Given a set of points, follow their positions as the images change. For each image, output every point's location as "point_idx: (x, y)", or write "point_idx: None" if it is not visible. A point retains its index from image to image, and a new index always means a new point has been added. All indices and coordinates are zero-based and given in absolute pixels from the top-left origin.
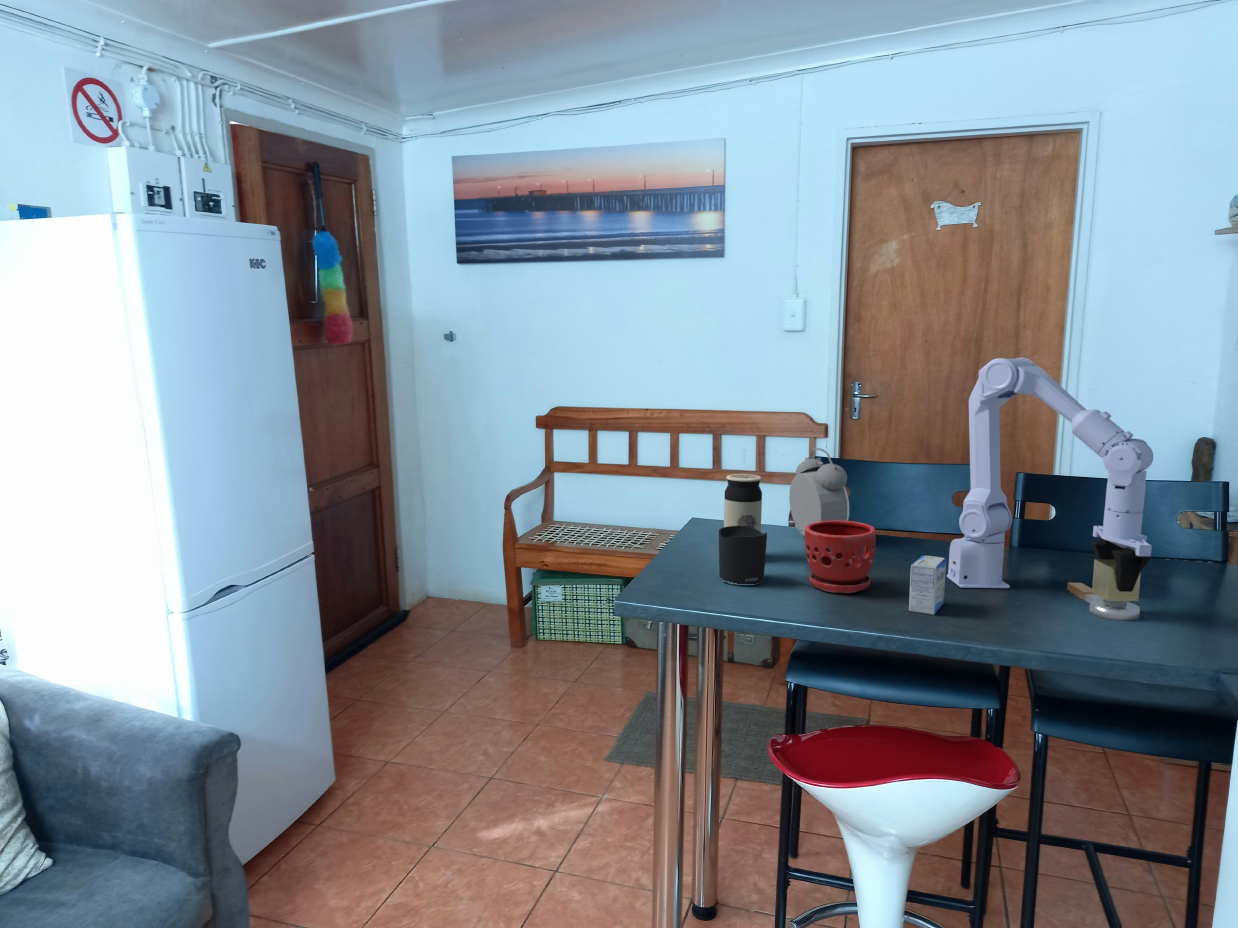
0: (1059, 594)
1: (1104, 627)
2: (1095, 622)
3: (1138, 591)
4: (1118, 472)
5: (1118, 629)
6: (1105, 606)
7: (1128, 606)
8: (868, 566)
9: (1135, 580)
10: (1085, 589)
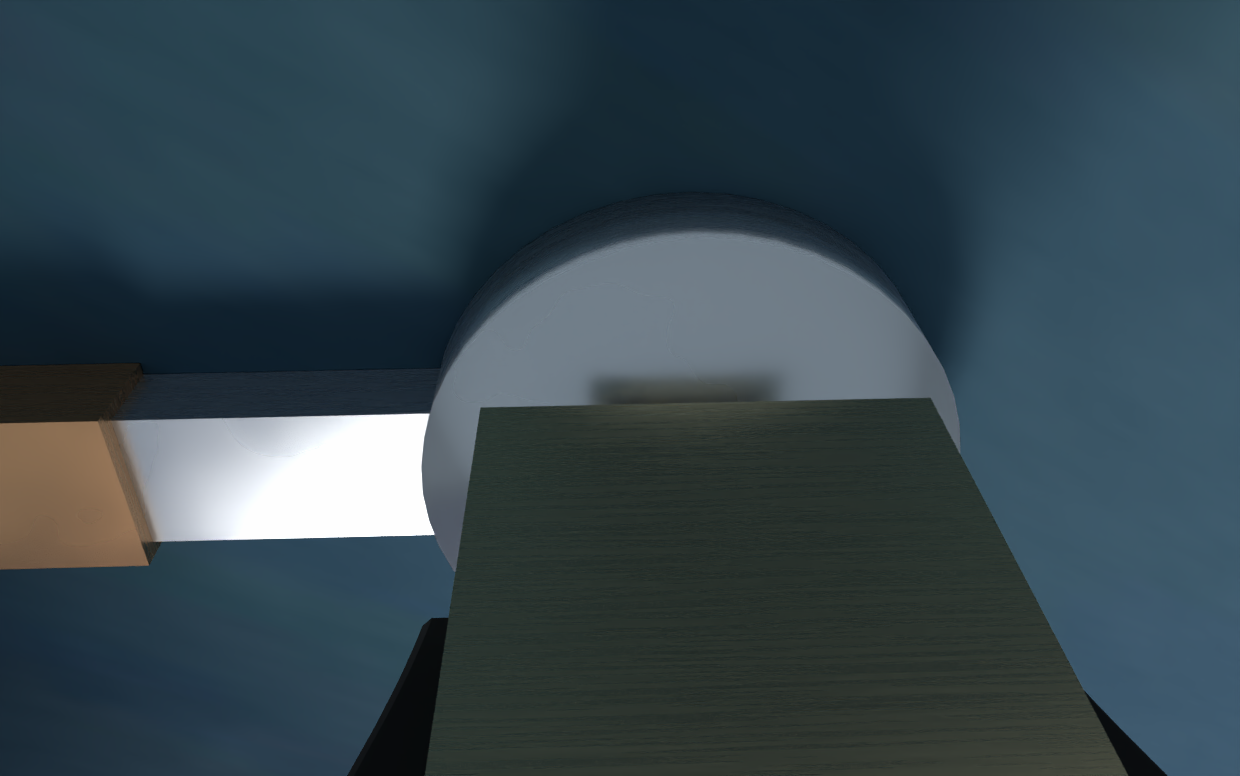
0: (44, 628)
1: (1066, 656)
2: None
3: (976, 498)
4: None
5: (1141, 584)
6: None
7: (757, 371)
8: None
9: (1121, 750)
10: (19, 509)
